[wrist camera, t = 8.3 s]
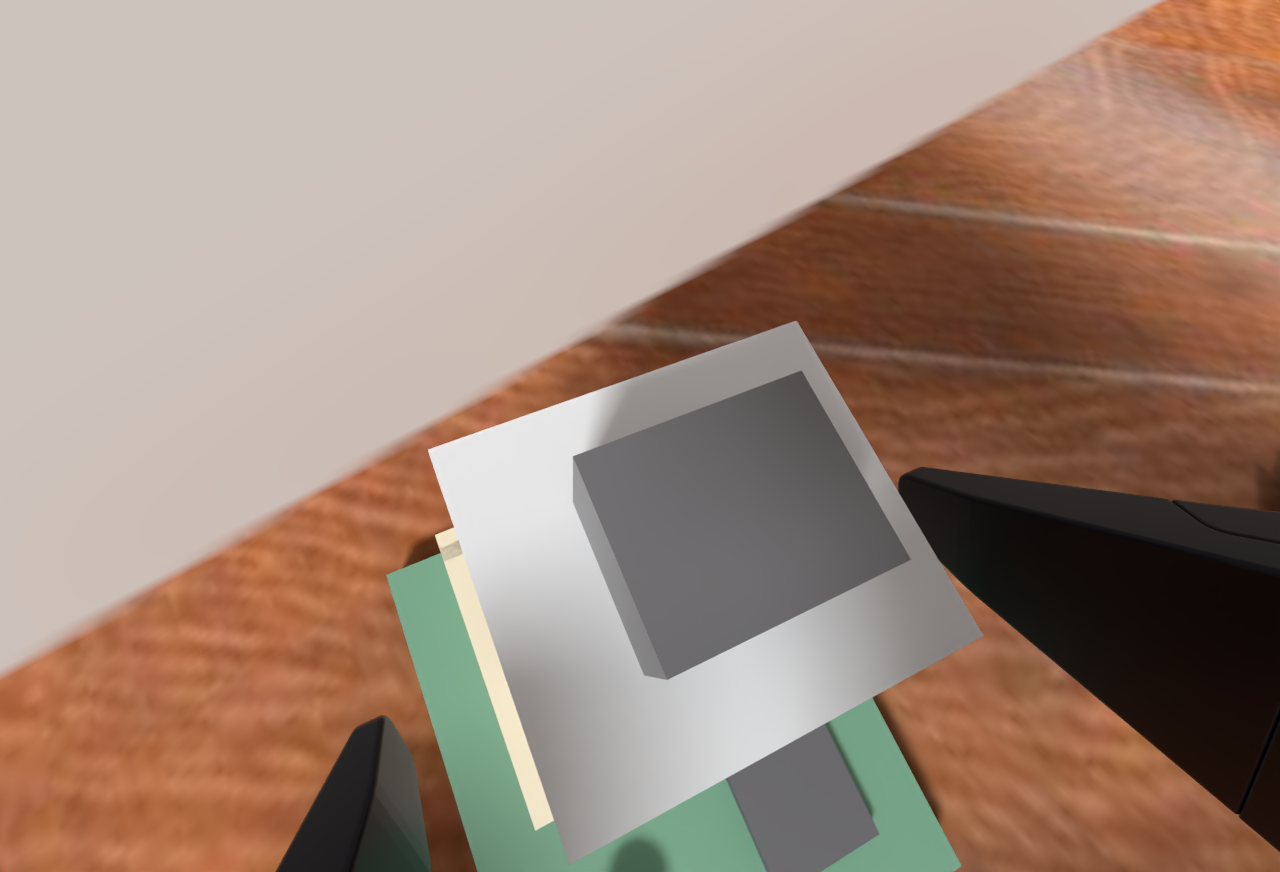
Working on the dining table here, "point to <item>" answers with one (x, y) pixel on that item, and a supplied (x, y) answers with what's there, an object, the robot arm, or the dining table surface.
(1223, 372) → the dining table surface
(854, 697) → the plug
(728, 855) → the header board
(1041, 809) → the dining table surface
